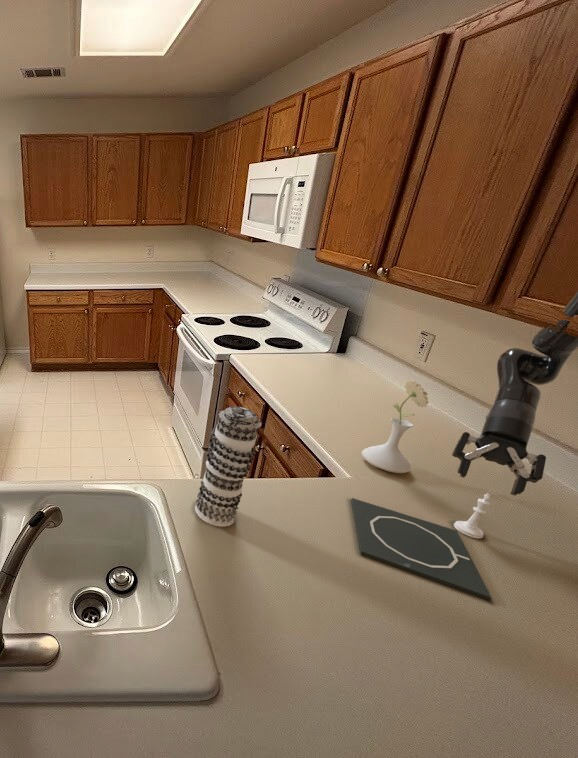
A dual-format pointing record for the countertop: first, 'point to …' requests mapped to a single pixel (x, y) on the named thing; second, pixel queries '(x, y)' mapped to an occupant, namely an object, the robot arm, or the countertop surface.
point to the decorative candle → (227, 465)
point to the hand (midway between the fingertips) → (488, 484)
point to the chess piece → (474, 520)
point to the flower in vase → (396, 436)
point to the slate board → (416, 547)
